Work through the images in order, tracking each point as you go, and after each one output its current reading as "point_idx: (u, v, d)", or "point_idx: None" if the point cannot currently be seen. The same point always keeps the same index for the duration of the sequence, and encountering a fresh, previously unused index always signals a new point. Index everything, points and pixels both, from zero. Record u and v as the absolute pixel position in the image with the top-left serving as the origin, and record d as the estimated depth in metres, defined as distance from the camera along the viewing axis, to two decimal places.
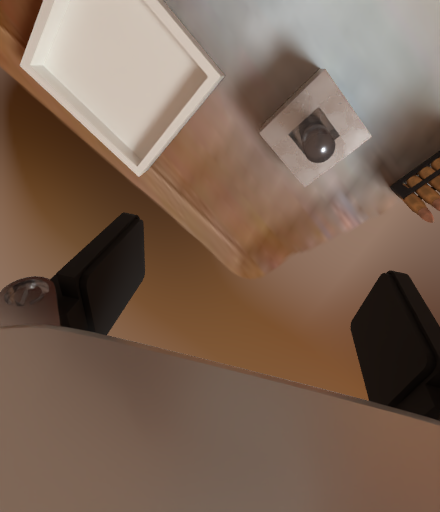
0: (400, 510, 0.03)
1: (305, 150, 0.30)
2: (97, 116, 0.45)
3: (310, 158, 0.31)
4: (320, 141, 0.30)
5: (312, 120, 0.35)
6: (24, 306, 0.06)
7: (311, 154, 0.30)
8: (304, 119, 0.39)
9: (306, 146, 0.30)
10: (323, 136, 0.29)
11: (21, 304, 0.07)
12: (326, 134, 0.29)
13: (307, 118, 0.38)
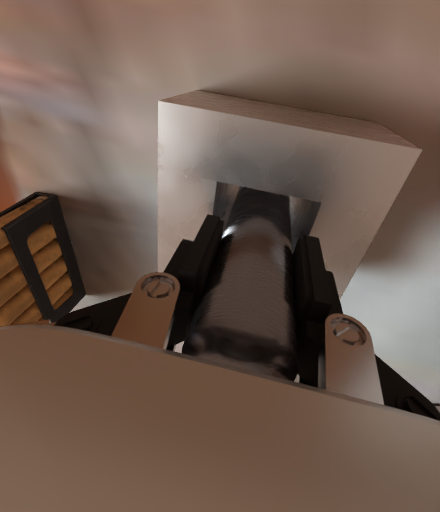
0: (400, 510, 0.03)
1: (279, 344, 0.07)
2: None
3: (237, 330, 0.07)
4: None
5: None
6: (151, 297, 0.07)
7: (247, 342, 0.07)
8: None
9: (286, 354, 0.07)
10: None
11: (150, 294, 0.08)
12: None
13: None
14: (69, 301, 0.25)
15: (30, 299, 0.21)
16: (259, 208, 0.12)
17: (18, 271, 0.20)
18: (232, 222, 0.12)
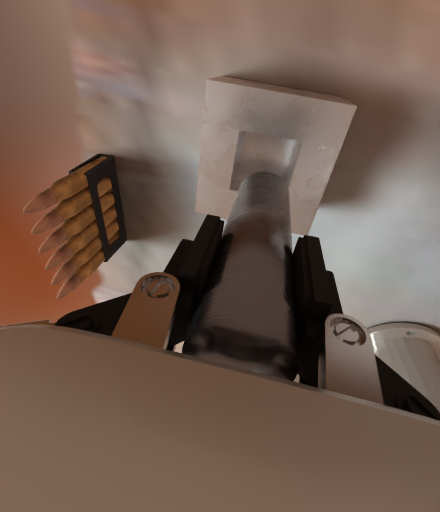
0: (400, 510, 0.03)
1: (279, 343, 0.07)
2: None
3: (237, 330, 0.07)
4: None
5: None
6: (151, 297, 0.07)
7: (247, 341, 0.07)
8: None
9: (286, 353, 0.07)
10: None
11: (150, 294, 0.08)
12: None
13: None
14: (117, 242, 0.33)
15: (96, 231, 0.28)
16: (259, 207, 0.12)
17: (90, 208, 0.27)
18: (232, 222, 0.12)
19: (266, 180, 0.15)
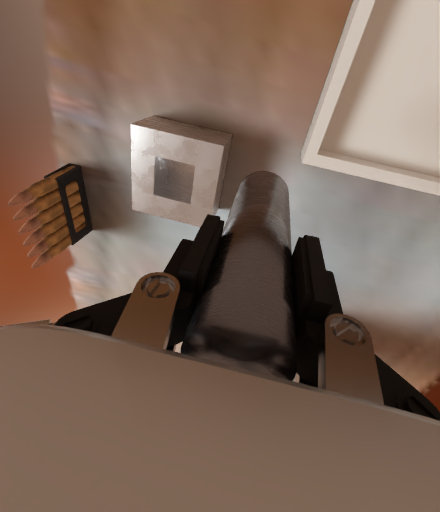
0: (400, 510, 0.03)
1: (277, 343, 0.07)
2: None
3: (236, 329, 0.07)
4: None
5: None
6: (151, 297, 0.07)
7: (245, 340, 0.07)
8: None
9: (285, 353, 0.07)
10: None
11: (150, 294, 0.08)
12: None
13: None
14: (83, 230, 0.43)
15: (64, 220, 0.38)
16: (258, 207, 0.12)
17: (60, 204, 0.37)
18: (231, 221, 0.12)
19: (265, 180, 0.15)
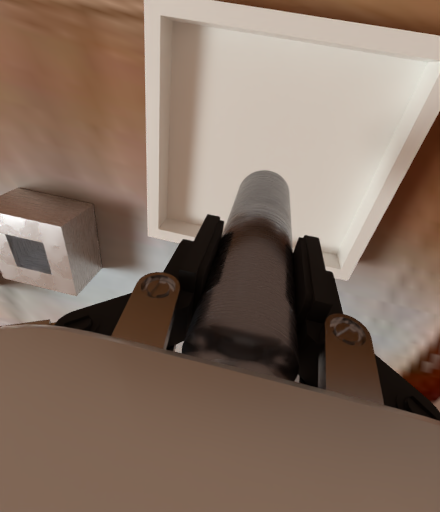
0: (400, 510, 0.03)
1: (279, 342, 0.07)
2: (293, 44, 0.21)
3: (237, 329, 0.07)
4: None
5: None
6: (151, 297, 0.07)
7: (247, 340, 0.07)
8: None
9: (287, 353, 0.07)
10: None
11: (150, 294, 0.08)
12: None
13: None
14: None
15: None
16: (259, 207, 0.12)
17: None
18: (232, 221, 0.12)
19: (266, 179, 0.15)
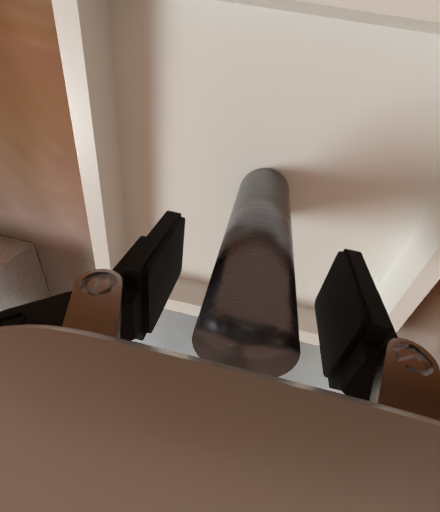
0: (400, 510, 0.03)
1: (282, 329, 0.07)
2: (303, 20, 0.13)
3: (244, 317, 0.07)
4: (258, 362, 0.08)
5: None
6: (93, 295, 0.07)
7: (253, 327, 0.08)
8: None
9: (289, 339, 0.08)
10: (261, 371, 0.09)
11: (92, 293, 0.07)
12: None
13: None
14: None
15: None
16: (260, 204, 0.13)
17: None
18: (235, 217, 0.12)
19: (267, 176, 0.16)
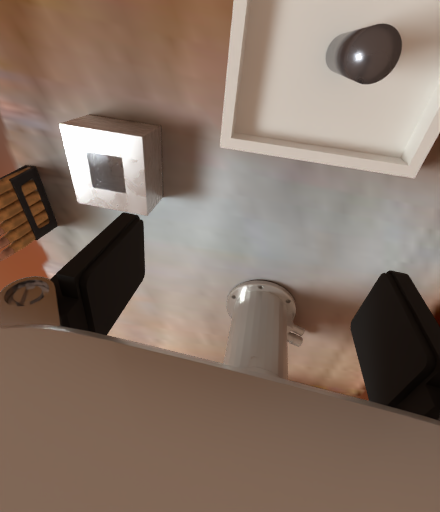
0: (400, 510, 0.03)
1: (396, 33, 0.17)
2: None
3: (379, 28, 0.17)
4: (378, 65, 0.18)
5: None
6: (24, 306, 0.06)
7: (381, 35, 0.17)
8: None
9: (397, 40, 0.17)
10: (378, 73, 0.18)
11: (21, 304, 0.07)
12: (375, 80, 0.19)
13: None
14: (47, 226, 0.46)
15: (24, 218, 0.42)
16: None
17: (18, 202, 0.41)
18: (344, 36, 0.22)
19: None
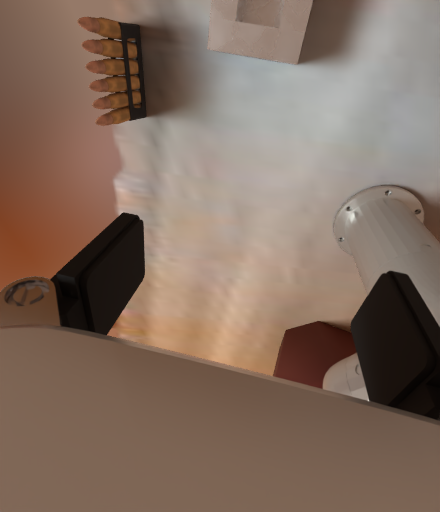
0: (400, 510, 0.03)
1: None
2: None
3: None
4: None
5: None
6: (24, 306, 0.06)
7: None
8: None
9: None
10: None
11: (21, 304, 0.07)
12: None
13: None
14: (139, 110, 0.39)
15: (125, 83, 0.34)
16: None
17: (121, 60, 0.33)
18: None
19: None
